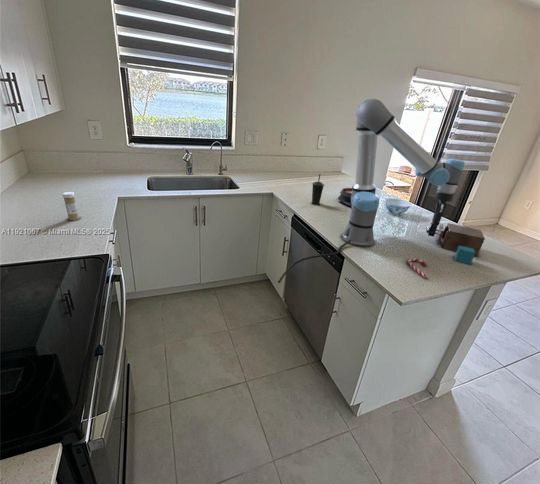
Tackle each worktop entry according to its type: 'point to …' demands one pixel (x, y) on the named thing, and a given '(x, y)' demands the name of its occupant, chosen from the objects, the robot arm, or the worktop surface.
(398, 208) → the chinaware
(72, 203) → the sprinkles bottle
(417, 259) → the candy cane
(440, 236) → the drawer
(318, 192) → the drinking cup
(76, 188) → the worktop surface
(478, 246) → the cabinet
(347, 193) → the casserole
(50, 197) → the worktop surface
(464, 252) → the teal block
